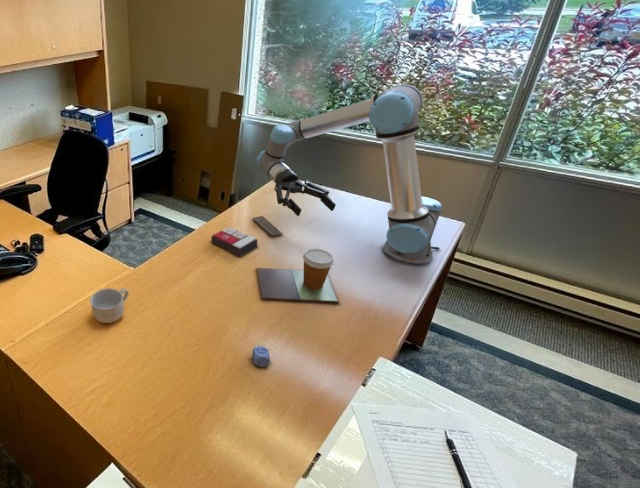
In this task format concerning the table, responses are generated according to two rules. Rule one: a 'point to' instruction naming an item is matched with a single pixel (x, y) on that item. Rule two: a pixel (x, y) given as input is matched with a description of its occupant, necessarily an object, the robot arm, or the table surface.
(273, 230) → the wooden plank
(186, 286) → the table surface
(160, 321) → the table surface
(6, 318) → the table surface
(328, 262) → the disposable coffee cup
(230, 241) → the red and grey box
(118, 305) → the teacup
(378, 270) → the table surface
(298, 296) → the board
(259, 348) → the decorative dice
